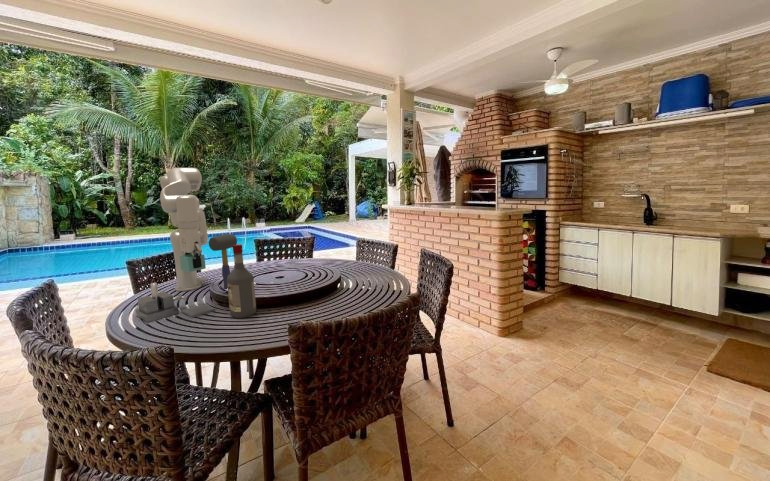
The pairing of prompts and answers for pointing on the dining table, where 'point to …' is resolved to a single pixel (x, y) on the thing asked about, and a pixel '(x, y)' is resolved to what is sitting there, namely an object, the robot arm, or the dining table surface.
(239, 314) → the liquor
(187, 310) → the mat
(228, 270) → the rubber mallet
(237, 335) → the dining table surface
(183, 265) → the collar
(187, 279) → the robot arm
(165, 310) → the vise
